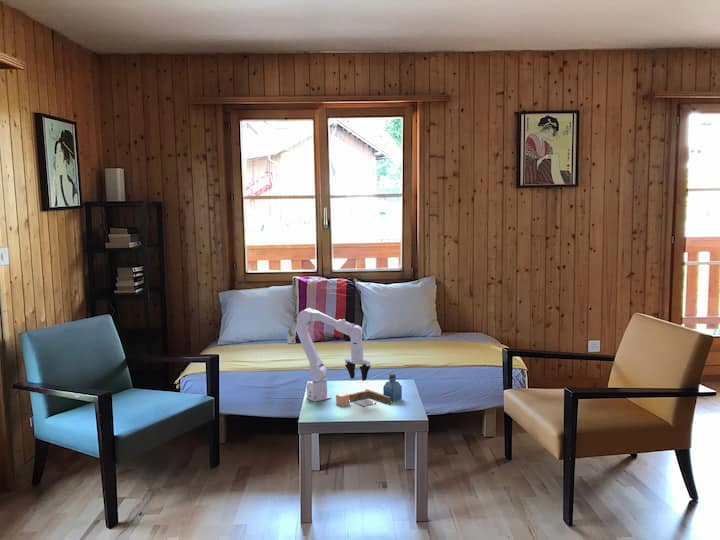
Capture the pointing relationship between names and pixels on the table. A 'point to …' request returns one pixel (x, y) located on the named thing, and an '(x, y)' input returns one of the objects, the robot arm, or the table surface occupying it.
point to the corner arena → (368, 394)
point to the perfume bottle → (393, 388)
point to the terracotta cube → (342, 399)
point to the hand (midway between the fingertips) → (358, 379)
